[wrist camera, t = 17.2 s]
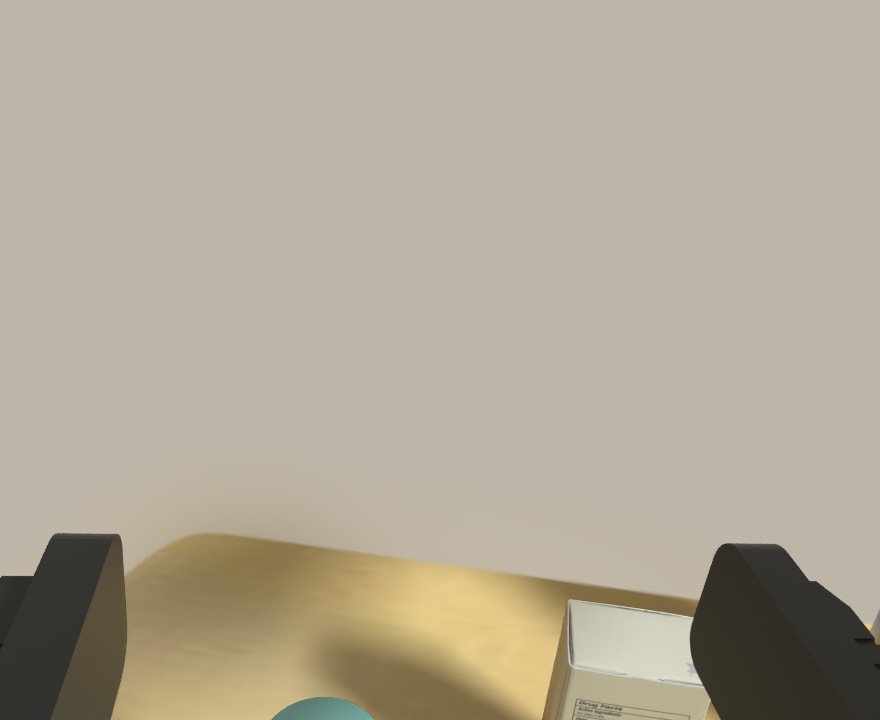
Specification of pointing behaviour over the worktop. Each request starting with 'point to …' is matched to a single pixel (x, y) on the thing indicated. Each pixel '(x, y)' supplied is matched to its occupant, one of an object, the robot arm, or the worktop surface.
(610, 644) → the skincare box
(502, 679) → the worktop surface
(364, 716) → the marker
